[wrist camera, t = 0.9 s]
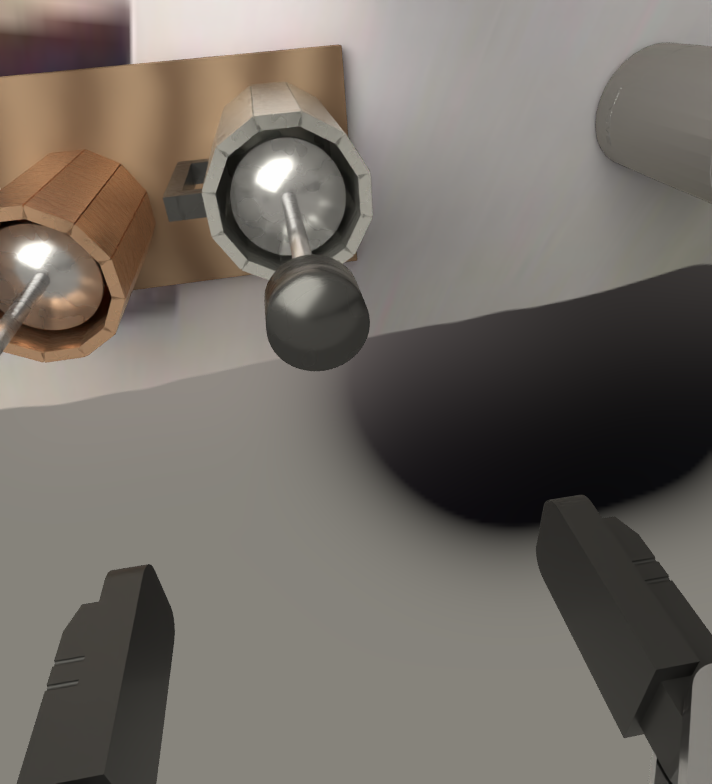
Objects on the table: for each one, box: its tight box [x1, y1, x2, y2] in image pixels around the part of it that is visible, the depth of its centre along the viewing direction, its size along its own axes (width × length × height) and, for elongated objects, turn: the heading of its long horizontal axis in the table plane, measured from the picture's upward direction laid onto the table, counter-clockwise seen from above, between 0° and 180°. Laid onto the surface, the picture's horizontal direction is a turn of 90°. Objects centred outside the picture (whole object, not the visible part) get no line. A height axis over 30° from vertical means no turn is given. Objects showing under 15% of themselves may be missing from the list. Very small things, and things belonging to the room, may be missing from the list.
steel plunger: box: [230, 136, 370, 371], centre depth 26 cm, size 7×7×16 cm
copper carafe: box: [0, 149, 156, 363], centre depth 37 cm, size 12×9×14 cm
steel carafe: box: [163, 81, 373, 280], centre depth 37 cm, size 12×9×14 cm
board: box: [0, 45, 357, 290], centre depth 43 cm, size 26×16×1 cm, turn 94°
